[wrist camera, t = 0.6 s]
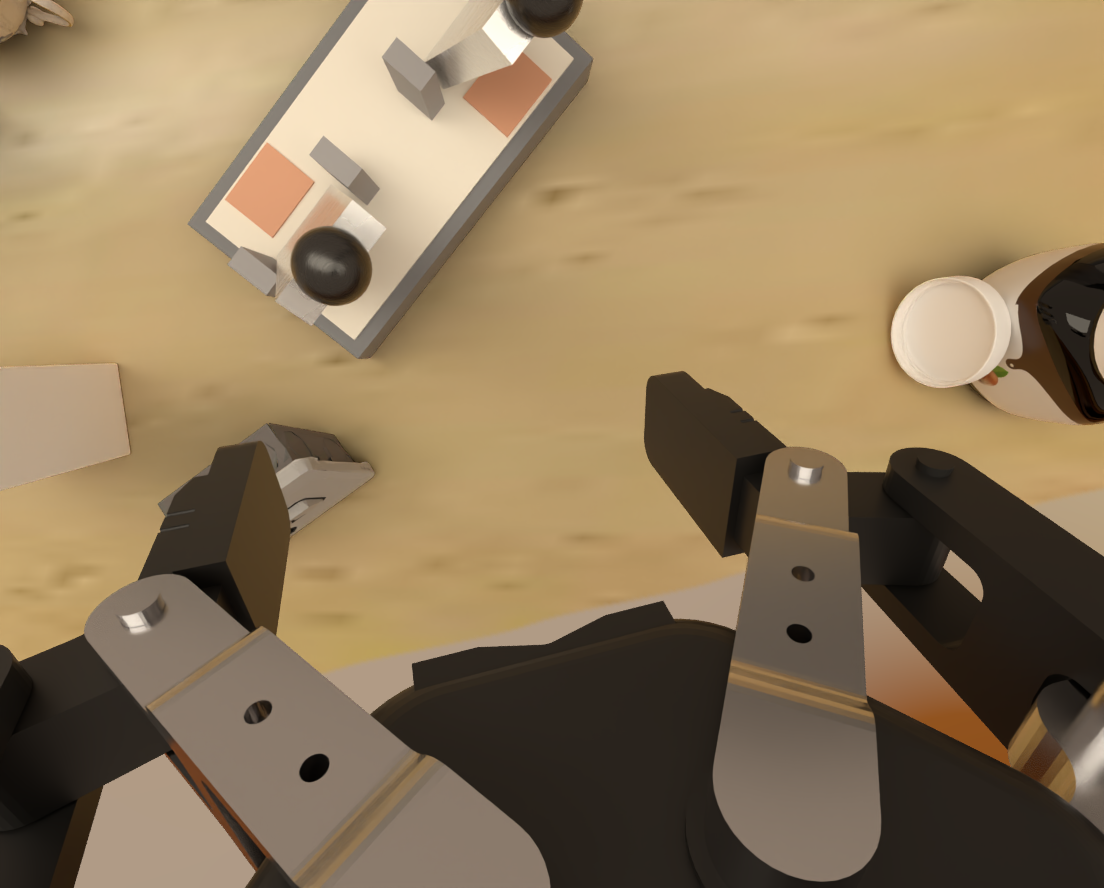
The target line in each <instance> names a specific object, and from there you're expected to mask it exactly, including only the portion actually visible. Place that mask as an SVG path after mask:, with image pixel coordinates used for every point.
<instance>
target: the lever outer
mask: <svg viewBox="0 0 1104 888" xmlns="http://www.w3.org/2000/svg"><path fill="white" fill-rule="evenodd" d="M385 230H386V228H385V227H384V226H383V225H382V224H381V223H379V222H378V221H377V220H376V219H375V218H374V217H372V216H371V215H370V214H369V213H368V212H366V211H365V210H364V209H363V208H362V207H360V206H359V205H358V204H357V203H356V202H355V201H353V200H352V199H351V198H349V197H348V196H347V195H345V194H344V193H343V192H341V191H340V190H339V189H337V188H336V187H334V186H333V185H332V184H331V185H330V186H329V188H328V189H327V190H326V192H325V193H324V194H323V196H322V197H321V198H320V199H319V201H318V202H317V203H316V205H315V206H314V207H313V209H312V210H311V211H310V213H309V214H308V215H307V217H306V218H305V219H304V221H303V222H302V223H301V225H300V226H299V227H298V229H297V230H296V231H295V233H294V234H293V235H292V237H291V238H290V239H289V241H288V242H287V243H286V245H285V246H284V247H283V249H282V250H281V251H280V253H279V254H278V255H277V270H276V293H275V302H277V303H278V304H280V305H281V306H283V307H284V308H286V309H287V310H289V311H290V312H291V313H293V314H294V315H296V316H297V317H299V318H300V319H302V320H303V321H305V322H306V323H308V324H309V325H311V326H312V325H313V323H314V322H315V321H316V319H317V318H318V317H319V315H320V314H321V313H322V312H323V310H324V309H325V308H326V306H327V305H329V306H342V305H346V304H349V303H352V302H354V301H355V300H357V299H358V298H359V297H361V296H362V295H363V294H364V292H365V291H366V290H367V288H368V286H369V284H370V281H371V277H372V262H371V258H370V255H369V253H368V252H369V251H370V249H371V248H372V247H373V245H374V244H375V243H376V241H377V240H378V239H379V238H380V236H381V235H382V234H383V232H384V231H385Z"/></svg>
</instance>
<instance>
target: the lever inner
mask: <svg viewBox="0 0 1104 888" xmlns="http://www.w3.org/2000/svg"><path fill="white" fill-rule="evenodd" d="M582 3H583V0H469V1H468V3H467V4H466V5H465V7H464V8H463V9H462V11H461V12H460V13H459V15H458V16H457V17H456V19H455V20H454V21H453V23H452V24H451V25H450V27H449V28H448V29H447V30H446V32H445V33H444V34H443V36H442V37H441V38H440V40H439V41H438V42H437V44H436V45H435V46H434V48H433V49H432V50H431V52H430V53H429V54H428V56H427V57H426V58H425V60H424V62H425V63H426V64H427V65H428V66H430V67H431V68H432V69H433V70H434V71H435V72H436V75H437V79H438V82H439V85H440V87H441V88H442V89H446V88H449V87H451V86H454V85H457V84H460V83H463V82H465V81H468V80H471V79H474V78H476V77H479V76H482V75H485V74H487V73H490V72H493V71H496V70H498V69H501V68H504V67H507V66H510V65H512V64H513V63H514V62H515V60H516V59H517V58H518V57H519V55H520V54H521V53H522V51H523V50H524V49H525V47H526V46H527V45H528V44H529V42H530V41H531V40H532V38H533V37H538V38H550V37H555V36H557V35H559V34H561V33H563V32H564V31H566V30H567V29H568V28H569V27H570V26H571V25H572V24H573V22H574V21H575V19H576V18H577V16H578V14H579V12H580V9H581V7H582Z"/></svg>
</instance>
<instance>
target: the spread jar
mask: <svg viewBox="0 0 1104 888" xmlns="http://www.w3.org/2000/svg"><path fill="white" fill-rule="evenodd" d="M891 344H892V349H893V352H894V355H895V357H896V360H897V362H898V363H899V365H900V366H901V368H902V369H903V370H904V371H905V372H906V373H907V375H908V376H910V377H911V378H913V379H914V380H915V381H917V382H919V383H921V384H923V385H926V386H930V387H934V388H948V387H954V386H959V385H963V384H968V383H969V385H970V386H971V387H972V388H973V389H975V390H976V391H977V392H978V393H979V394H980V395H981V396H982V397H983V398H985V399H986V400H987V401H989V402H990V403H992V404H993V405H995V406H996V407H997V408H999V409H1001V410H1003V411H1005V412H1008V413H1010V414H1012V415H1016V416H1020V417H1024V418H1029V419H1034V420H1040V421H1047V422H1054V423H1061V424H1070V425H1093V424H1099V423H1104V243H1095V244H1086V245H1079V246H1073V247H1067V248H1062V249H1056V250H1051V251H1047V252H1042V253H1038V254H1034V255H1031V256H1028V257H1025V258H1022V259H1020V260H1017V261H1015V262H1013V263H1010V264H1008V265H1006V266H1004V267H1002V268H1000V269H998V270H996V271H995V272H993V273H991V274H990V275H988V276H987V277H985V278H984V279H983V280H980V279H977V278H973V277H970V276H951V277H942V278H936V279H932V280H929V281H926V282H923V283H922V284H920V285H918V286H917V287H915V288H914V289H913V290H911V291H910V292H909V293H908V294H907V295H906V296H905V298H904V299H903V300H902V301H901V303H900V304H899V306H898V308H897V310H896V312H895V315H894V318H893V321H892V327H891Z"/></svg>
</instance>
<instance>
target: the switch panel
mask: <svg viewBox="0 0 1104 888" xmlns="http://www.w3.org/2000/svg"><path fill="white" fill-rule="evenodd" d="M468 1H469V0H351V1H350V2H349V4H348V5H347V6H346V8H345V9H344V10H343V12H342V13H341V14H340V16H339V17H338V19H337V20H336V21H335V23H334V24H333V25H332V27H331V28H330V29H329V31H328V32H327V34H326V35H325V36H324V38H323V39H322V40H321V42H320V43H319V45H318V46H317V47H316V49H315V50H314V51H313V53H312V54H311V55H310V57H309V58H308V60H307V61H306V62H305V64H304V65H303V66H302V68H301V69H300V71H299V72H298V73H297V75H296V76H295V77H294V79H293V80H292V81H291V83H290V84H289V86H288V87H287V88H286V90H285V91H284V92H283V94H282V95H281V96H280V98H279V99H278V101H277V102H276V103H275V105H274V106H273V107H272V109H271V110H270V112H269V113H268V114H267V116H266V117H265V118H264V120H263V121H262V122H261V124H260V125H259V127H258V128H257V129H256V131H255V132H254V133H253V135H252V136H251V138H250V139H249V140H248V142H247V143H246V144H245V146H244V147H243V148H242V150H241V151H240V153H239V154H238V155H237V157H236V158H235V159H234V161H233V162H232V164H231V165H230V166H229V168H228V169H227V170H226V172H225V173H224V174H223V176H222V177H221V179H220V180H219V181H218V183H217V184H216V185H215V187H214V188H213V189H212V191H211V192H210V194H209V195H208V196H207V198H206V199H205V200H204V202H203V203H202V205H201V206H200V207H199V209H198V210H197V211H196V213H195V214H194V215H193V217H192V218H191V220H190V221H189V222H188V225H189V226H190V227H192V228H193V229H194V230H195V231H197V232H198V233H199V234H201V235H202V236H203V237H204V238H206V239H207V240H208V241H209V242H211V243H212V244H213V245H214V246H216V247H217V248H218V249H220V250H221V251H222V252H223V253H225V254H226V255H227V256H228V257H230V258H231V260H230V262H229V263H228V264H227V265H228V266H230V267H231V268H232V269H233V270H235V271H236V272H237V273H238V274H240V275H241V276H242V277H244V278H245V279H246V280H247V281H249V282H250V283H251V284H252V285H254V286H255V287H256V288H257V289H259V290H260V291H261V292H263V293H264V294H265V295H267V296H272V297H275V293H276V270H277V255H278V254H279V253H280V251H281V250H282V249H283V247H284V246H285V245H286V243H287V242H288V241H289V239H290V238H291V237H292V235H293V234H294V233H295V231H296V230H297V229H298V227H299V226H300V225H301V223H302V222H303V221H304V219H305V218H306V217H307V215H308V214H309V213H310V211H311V210H312V209H313V207H314V206H315V205H316V203H317V202H318V201H319V199H320V198H321V197H322V196H323V194H324V193H325V192H326V190H327V189H328V188H329V186H330V185H331V184H332V185H333V186H334V187H336V188H337V189H339V190H340V191H341V192H343V193H344V194H345V195H347V196H348V197H349V198H351V199H352V200H353V201H355V202H356V203H357V204H358V205H359V206H360V207H362V208H363V209H364V210H365V211H366V212H368V213H369V214H370V215H371V216H372V217H374V218H375V219H376V220H377V221H378V222H379V223H381V224H382V225H383V226H384V227H385V228H386V230H385V231H384V232H383V234H382V235H381V236H380V238H379V239H378V240H377V241H376V243H375V244H374V245H373V247H372V248H371V249H370V251H369V252H368V253H369V255H370V258H371V262H372V277H371V281H370V284H369V286H368V288H367V290H366V291H365V292H364V294H363V295H362V296H361V297H359V298H358V299H357V300H355V301H354V302H352V303H349V304H346V305H342V306H329V305H327V306H326V308H325V309H324V310H323V312H322V313H321V314H320V315H319V317H318V318H317V319H316V321H315V322H314V323H313V324H314V325H316V326H317V327H318V328H319V329H321V330H322V331H323V332H325V333H326V334H327V335H328V336H330V337H331V338H332V339H333V340H335V341H336V342H337V343H338V344H340V345H341V346H342V347H343V348H345V349H346V350H347V351H349V352H350V353H351V354H352V355H354V356H355V357H356V358H357V359H363V358H370V357H371V356H372V355H373V354H374V352H375V351H376V350H377V348H378V347H379V346H380V345H381V343H382V342H383V341H384V340H385V338H386V337H387V336H388V334H389V333H390V332H391V331H392V329H393V328H394V327H395V326H396V324H397V323H398V322H399V320H400V319H401V318H402V317H403V315H404V314H405V313H406V312H407V310H408V309H409V308H410V306H411V305H412V304H413V303H414V301H415V300H416V299H417V297H418V296H419V295H420V294H421V292H422V291H423V290H424V289H425V287H426V286H427V285H428V283H429V282H430V281H431V280H432V278H433V277H434V276H435V275H436V273H437V272H438V271H439V269H440V268H441V267H442V266H443V264H444V263H445V262H446V261H447V259H448V258H449V257H450V255H451V254H452V253H453V252H454V250H455V249H456V248H457V247H458V245H459V244H460V243H461V241H462V240H463V239H464V238H465V236H466V235H467V234H468V233H469V231H470V230H471V229H472V227H473V226H474V225H475V224H476V222H477V221H478V220H479V219H480V217H481V216H482V215H483V213H484V212H485V211H486V210H487V208H488V207H489V206H490V205H491V203H492V202H493V201H494V199H495V198H496V197H497V196H498V194H499V193H500V192H501V191H502V189H503V188H504V187H505V185H506V184H507V183H508V182H509V180H510V179H511V178H512V177H513V175H514V174H515V173H516V171H517V170H518V169H519V168H520V166H521V165H522V164H523V163H524V161H525V160H526V159H527V157H528V156H529V155H530V154H531V152H532V151H533V150H534V149H535V147H536V146H537V145H538V143H539V142H540V141H541V140H542V138H543V137H544V136H545V135H546V133H547V132H548V131H549V129H550V128H551V127H552V126H553V124H554V123H555V122H556V121H557V119H558V118H559V117H560V115H561V114H562V113H563V112H564V110H565V109H566V108H567V107H568V105H569V104H570V103H571V101H572V100H573V99H574V98H575V96H576V95H577V94H578V93H579V91H580V90H581V89H582V87H583V86H584V85H585V84H586V82H587V81H588V77H589V73H590V69H591V65H592V61H593V58H592V57H591V56H590V55H589V54H588V53H587V52H586V51H585V50H584V49H583V48H582V47H581V46H580V45H579V44H577V43H576V42H575V41H574V40H573V39H572V38H571V37H570V36H569V35H568V34H567V33H566V32H565V31H564V32H563V33H561V34H559V35H557V36H555V37H550V38H538V37H533V38H532V40H531V41H530V42H529V44H528V45H527V46H526V47H525V49H524V50H523V51H522V53H521V54H520V55H519V57H518V58H517V59H516V60H515V62H514V63H513V64H512V65H510V66H507V67H504V68H501V69H498V70H496V71H493V72H490V73H487V74H485V75H482V76H479V77H476V78H474V79H471V80H468V81H465V82H463V83H460V84H457V85H454V86H451V87H449V88H446V89H442V88H441V87H440V85H439V82H438V79H437V75H436V72H435V71H434V70H433V69H432V68H431V67H430V66H428V65H427V64H426V63H425V62H424V60H425V58H426V57H427V56H428V54H429V53H430V52H431V50H432V49H433V48H434V46H435V45H436V44H437V42H438V41H439V40H440V38H441V37H442V36H443V34H444V33H445V32H446V30H447V29H448V28H449V27H450V25H451V24H452V23H453V21H454V20H455V19H456V17H457V16H458V15H459V13H460V12H461V11H462V9H463V8H464V7H465V5H466V4H467V3H468Z"/></svg>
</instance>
